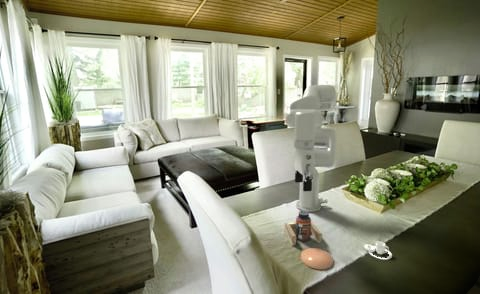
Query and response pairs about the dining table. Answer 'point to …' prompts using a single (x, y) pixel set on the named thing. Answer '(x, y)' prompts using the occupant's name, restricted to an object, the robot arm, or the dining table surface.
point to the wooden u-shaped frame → (291, 228)
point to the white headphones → (378, 249)
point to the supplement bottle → (303, 226)
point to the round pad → (316, 258)
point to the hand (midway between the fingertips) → (302, 186)
